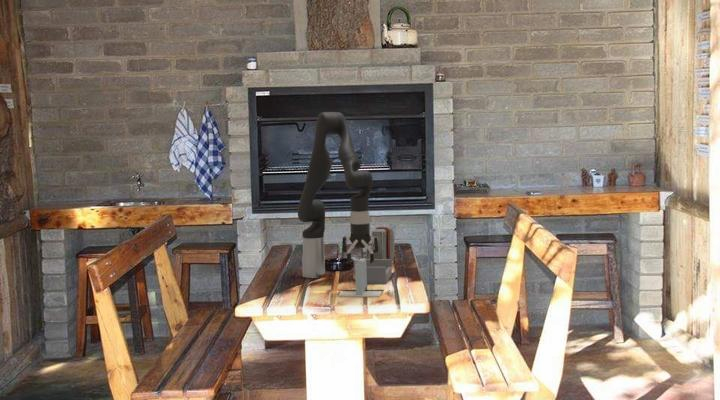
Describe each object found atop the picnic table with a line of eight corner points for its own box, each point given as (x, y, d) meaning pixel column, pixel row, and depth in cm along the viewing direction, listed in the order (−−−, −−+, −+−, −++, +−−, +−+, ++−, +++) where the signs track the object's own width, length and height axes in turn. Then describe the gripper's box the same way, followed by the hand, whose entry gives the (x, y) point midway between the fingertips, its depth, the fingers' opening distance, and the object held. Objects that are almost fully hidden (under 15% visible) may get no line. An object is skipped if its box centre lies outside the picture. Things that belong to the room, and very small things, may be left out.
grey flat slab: (355, 295, 348) (355, 264, 346) (361, 287, 360) (360, 258, 359) (361, 295, 347) (361, 264, 346) (367, 287, 360) (366, 258, 359)
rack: (356, 286, 366) (356, 267, 365) (363, 277, 384) (363, 259, 383) (386, 286, 364) (385, 267, 363) (391, 277, 382) (391, 259, 381)
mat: (338, 296, 348) (338, 295, 348) (345, 288, 362) (344, 287, 362) (379, 297, 346) (379, 295, 346) (384, 289, 359) (384, 287, 359)
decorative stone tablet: (384, 229, 386) (396, 225, 415) (370, 228, 387) (382, 225, 417) (384, 273, 386) (396, 266, 416) (370, 273, 388) (382, 266, 417)
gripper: (340, 223, 348) (341, 264, 350) (376, 223, 346) (377, 264, 348) (343, 220, 355) (344, 260, 357) (379, 220, 353) (380, 261, 355)
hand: (360, 262), depth 353 cm, fingers open, 8 cm apart
